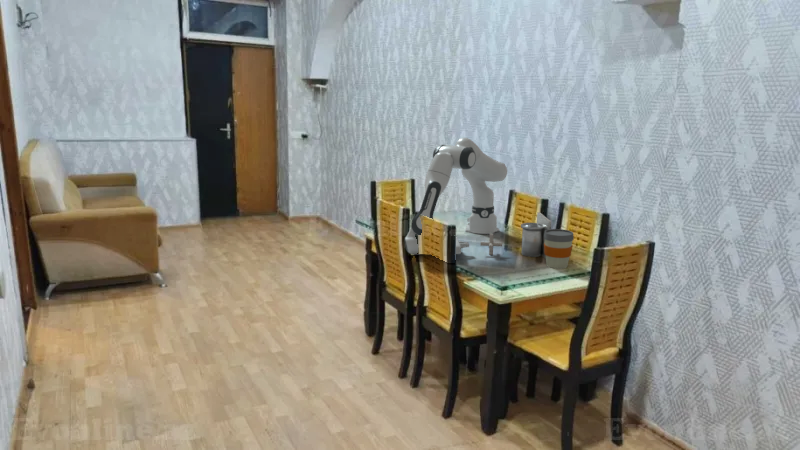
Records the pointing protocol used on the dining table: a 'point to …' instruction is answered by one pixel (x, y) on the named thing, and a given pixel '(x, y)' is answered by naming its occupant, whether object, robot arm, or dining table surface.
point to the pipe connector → (490, 244)
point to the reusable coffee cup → (558, 247)
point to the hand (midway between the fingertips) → (468, 244)
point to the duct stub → (535, 236)
